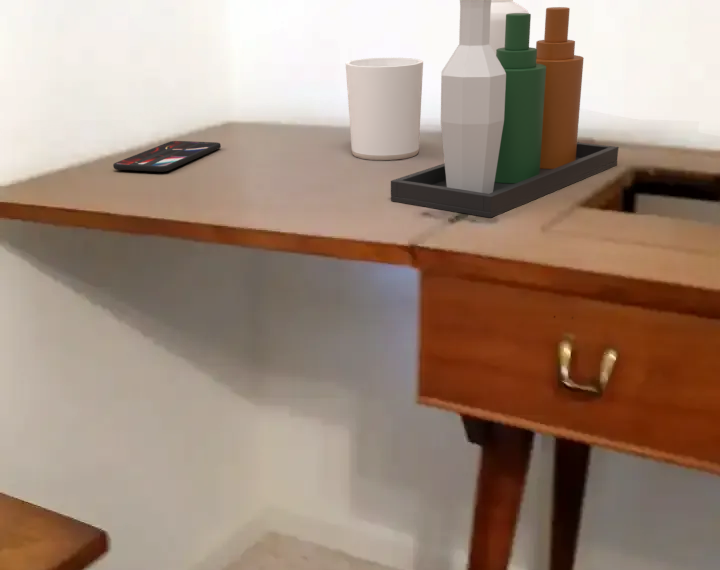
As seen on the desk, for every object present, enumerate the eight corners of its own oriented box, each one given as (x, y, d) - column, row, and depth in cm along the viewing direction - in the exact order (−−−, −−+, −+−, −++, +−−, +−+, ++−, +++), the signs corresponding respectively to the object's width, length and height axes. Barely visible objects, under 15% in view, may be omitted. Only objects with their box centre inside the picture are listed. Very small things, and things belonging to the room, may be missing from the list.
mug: (436, 155, 115) (438, 62, 111) (371, 164, 112) (369, 69, 107) (389, 140, 124) (388, 54, 119) (327, 148, 120) (324, 60, 115)
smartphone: (222, 142, 122) (165, 167, 109) (223, 147, 122) (166, 173, 109) (171, 140, 124) (109, 164, 111) (172, 145, 124) (110, 170, 111)
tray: (616, 165, 109) (618, 146, 108) (490, 218, 90) (491, 196, 89) (525, 153, 115) (526, 136, 114) (390, 200, 97) (390, 180, 96)
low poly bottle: (509, 187, 98) (521, -57, 88) (491, 202, 93) (501, -55, 83) (449, 183, 101) (454, -55, 90) (428, 197, 95) (431, -54, 85)
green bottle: (549, 175, 103) (560, 12, 95) (520, 186, 99) (529, 17, 91) (500, 168, 106) (507, 10, 99) (470, 179, 102) (475, 15, 95)
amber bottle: (584, 161, 108) (597, 6, 101) (558, 171, 104) (570, 11, 97) (537, 155, 112) (546, 5, 104) (510, 165, 108) (517, 9, 100)
